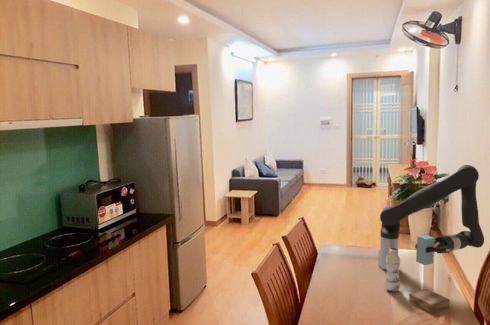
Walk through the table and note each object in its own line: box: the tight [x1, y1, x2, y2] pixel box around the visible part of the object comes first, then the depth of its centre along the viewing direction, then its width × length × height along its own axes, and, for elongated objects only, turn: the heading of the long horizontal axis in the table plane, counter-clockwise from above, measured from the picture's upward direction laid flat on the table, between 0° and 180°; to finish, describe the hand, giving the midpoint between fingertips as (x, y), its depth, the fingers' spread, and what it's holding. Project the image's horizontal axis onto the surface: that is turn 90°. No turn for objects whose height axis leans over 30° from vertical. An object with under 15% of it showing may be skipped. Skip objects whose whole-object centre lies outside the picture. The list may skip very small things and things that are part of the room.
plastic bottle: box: [384, 248, 401, 293], centre depth 176 cm, size 6×7×20 cm
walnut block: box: [408, 288, 450, 314], centre depth 163 cm, size 11×11×4 cm
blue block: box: [415, 234, 435, 266], centre depth 172 cm, size 5×5×12 cm
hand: (421, 248), depth 170 cm, fingers closed on blue block, 5 cm apart
